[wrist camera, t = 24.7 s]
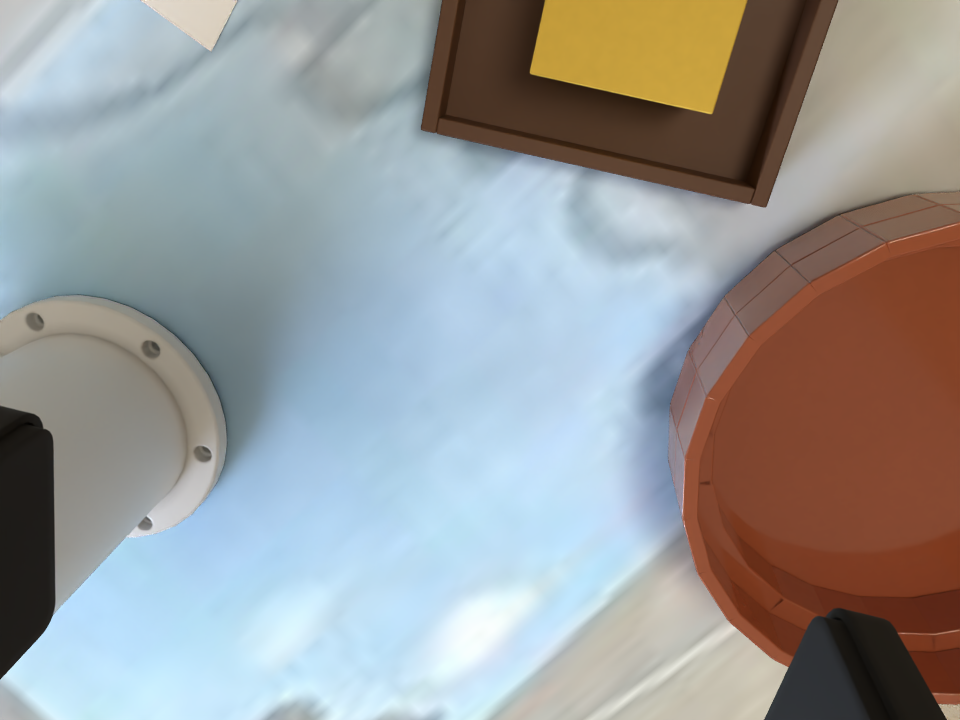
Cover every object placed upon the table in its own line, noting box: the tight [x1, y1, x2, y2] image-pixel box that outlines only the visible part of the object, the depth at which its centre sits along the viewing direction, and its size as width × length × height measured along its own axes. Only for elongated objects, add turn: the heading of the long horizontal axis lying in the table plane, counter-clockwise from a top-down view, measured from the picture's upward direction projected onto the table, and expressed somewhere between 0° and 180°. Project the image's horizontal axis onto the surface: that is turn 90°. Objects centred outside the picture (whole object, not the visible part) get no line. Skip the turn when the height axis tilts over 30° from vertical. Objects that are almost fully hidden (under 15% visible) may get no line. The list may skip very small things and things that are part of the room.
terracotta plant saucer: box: [668, 192, 960, 705], centre depth 31 cm, size 20×20×6 cm
